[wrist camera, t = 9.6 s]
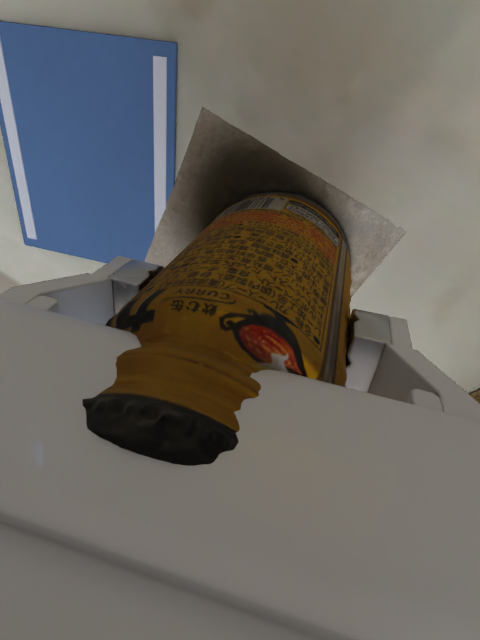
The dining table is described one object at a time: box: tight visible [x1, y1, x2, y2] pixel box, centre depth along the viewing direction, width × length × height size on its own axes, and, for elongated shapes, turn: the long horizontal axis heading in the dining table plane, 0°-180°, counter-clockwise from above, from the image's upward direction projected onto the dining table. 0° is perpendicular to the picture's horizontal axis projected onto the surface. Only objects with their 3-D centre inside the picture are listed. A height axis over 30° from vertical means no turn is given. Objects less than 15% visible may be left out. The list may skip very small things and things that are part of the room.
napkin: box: [0, 21, 177, 263], centre depth 29 cm, size 16×14×1 cm
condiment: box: [82, 107, 406, 466], centre depth 11 cm, size 7×8×12 cm
